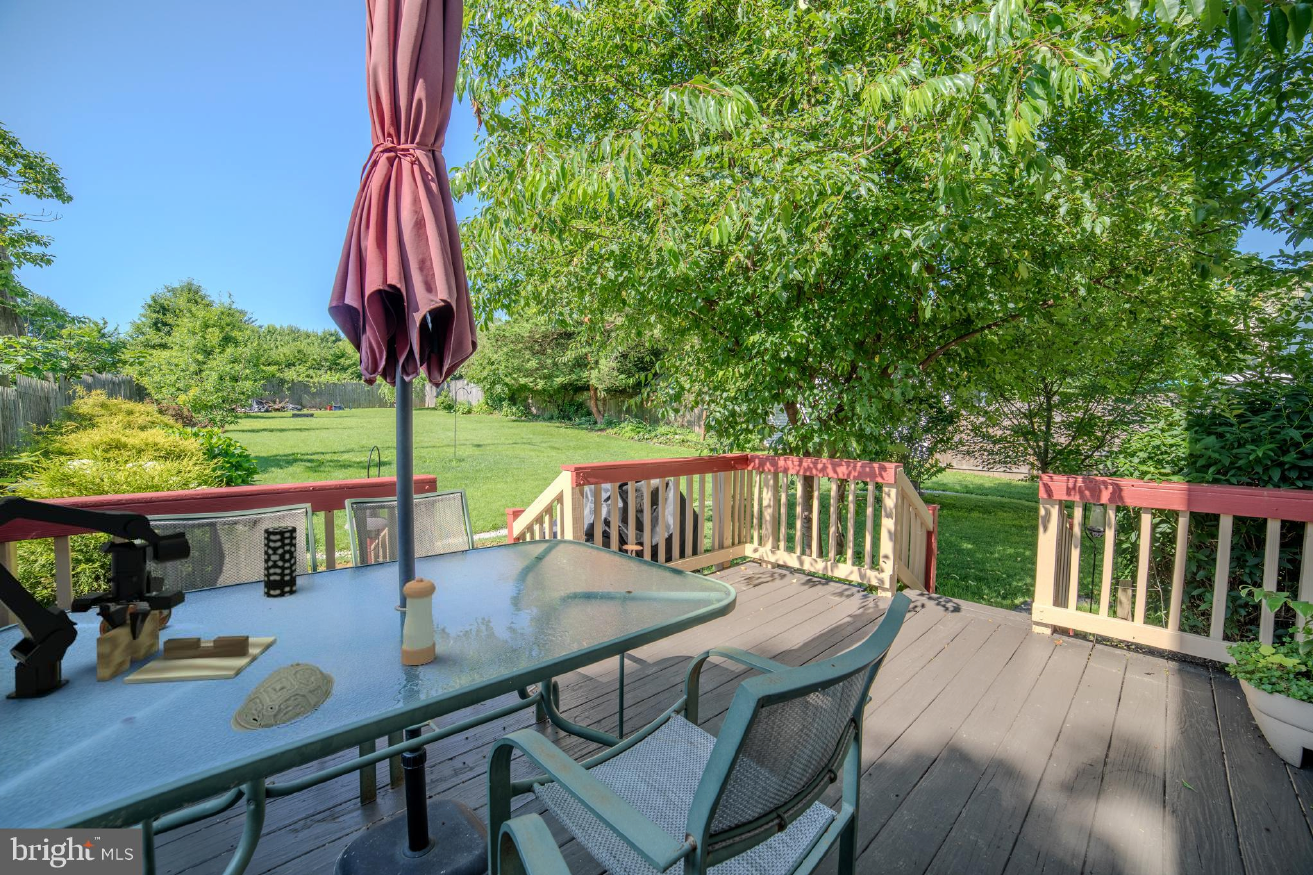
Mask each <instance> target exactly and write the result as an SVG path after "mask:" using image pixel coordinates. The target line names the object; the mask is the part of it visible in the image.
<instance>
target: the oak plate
mask: <svg viewBox="0 0 1313 875" xmlns="http://www.w3.org/2000/svg"><path fill="white" fill-rule="evenodd" d="M158 649H159V650H160V630H159V611H155V612H151V613H150V615H149V616H148V618H147V620H146V622H145V624H144V627H143V629H142V631H141V634H140V636H139V638H138V639H136V640H133V637H132V633H131V625H130V622H128V623H126V624H124V625H122V626H120V627H118V628H116V629H114V630H112V631H110V632H108V633H106V634H104V635H102V636H98V637H96V681H97V682H106V681H107V682H108V681H110V680H112V679H114V678H115V677H117V676H119V675H120V674H121V673H124V671H127V670H129V669H130V667H131V665H130V664H131V662H136V661H137V662H141V661H142V660H144V659H146V658H148V657H149V656H151V655H152V654H154V653H155V651H156V652H157V651H159V650H158ZM150 654H151V655H150Z"/></svg>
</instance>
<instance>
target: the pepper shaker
mask: <svg viewBox="0 0 1313 875" xmlns="http://www.w3.org/2000/svg"><path fill="white" fill-rule="evenodd" d="M436 589H437V587H436V585H435V583H434V582H433V581H432V580H429V579H424V578H423V577H419V576H418V577H417V578H416V579H414V580H411V581H409V582H407V583H406V584H405V585H404V586H403V589H402V593H403V595H404V597H406V601H405V602H406V604H405V605H406V606H405V611H406V614H405V620H404V624H403V625H404V626H403V630H402V634H403V635H402V638H403V643H402V646H401V660H400V661H401V663H402V664H403V665H404V666H408V665H419V666H422V665H421V664H424V663H427V664H429V663H428V662H429V661H432V660H433V661H435V659H436V645H437V644H436V642H435V624H434V619H433V595H434V593H435V592H436ZM434 658H435V659H434ZM433 661H432V662H433ZM424 665H425V664H424Z"/></svg>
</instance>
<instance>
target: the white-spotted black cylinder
mask: <svg viewBox="0 0 1313 875" xmlns="http://www.w3.org/2000/svg"><path fill="white" fill-rule="evenodd" d="M297 529H298V528H297V526H292V525H291V526H290V525H283V526H282V525H280V526H272V527H267V528H264V530H263V556H264V557H263V561H264V562H263V596H264V597H265V598H270V599H272V598H274V599H275V598H282V597H288V596H289V597H290V596H291V595H294V594H295V593H297V535H298V534H297V531H298V530H297Z"/></svg>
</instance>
